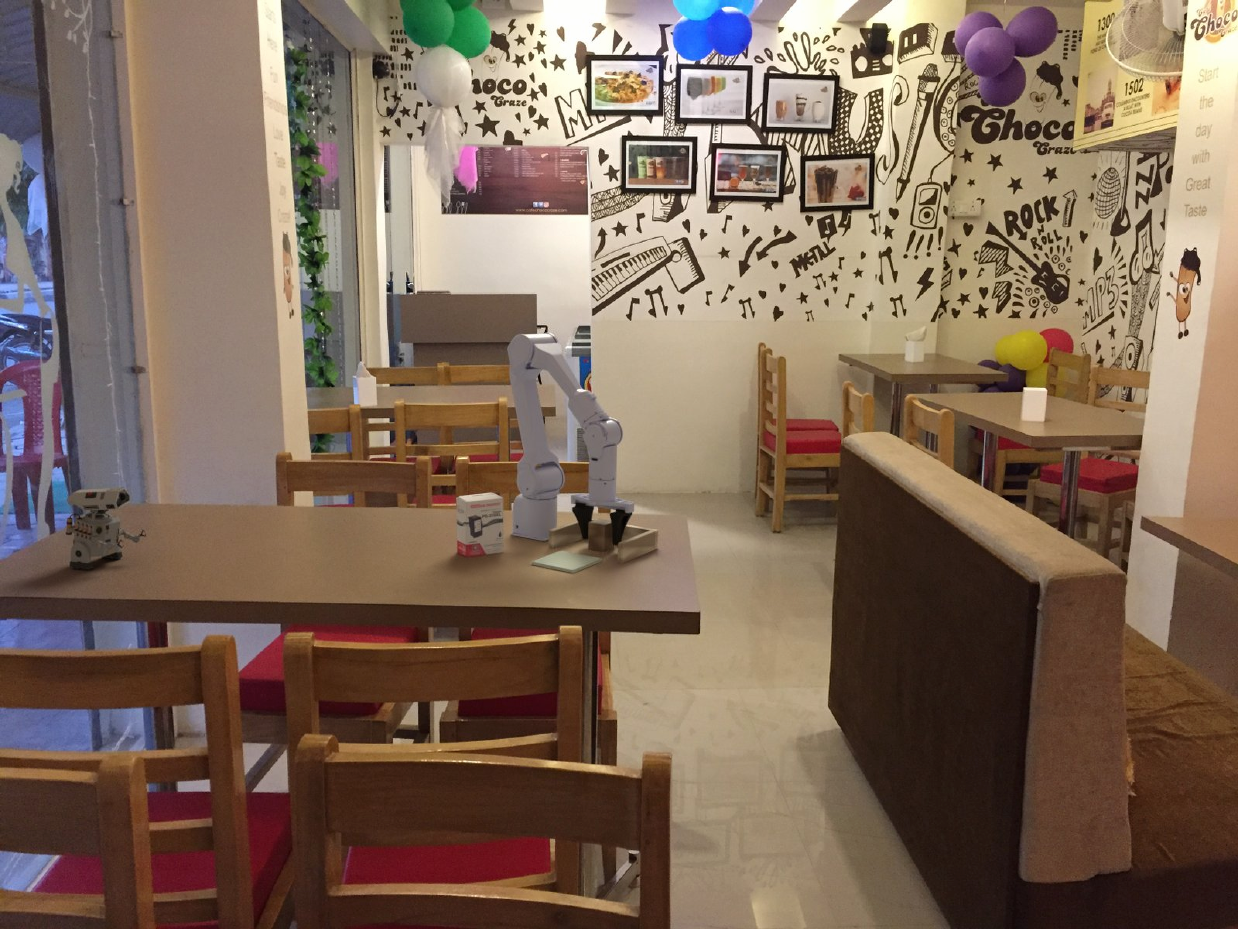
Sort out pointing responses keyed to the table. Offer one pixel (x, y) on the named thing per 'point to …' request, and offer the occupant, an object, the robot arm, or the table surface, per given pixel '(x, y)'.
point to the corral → (629, 548)
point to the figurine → (97, 526)
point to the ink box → (479, 524)
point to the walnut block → (600, 536)
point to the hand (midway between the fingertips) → (601, 541)
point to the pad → (566, 561)
